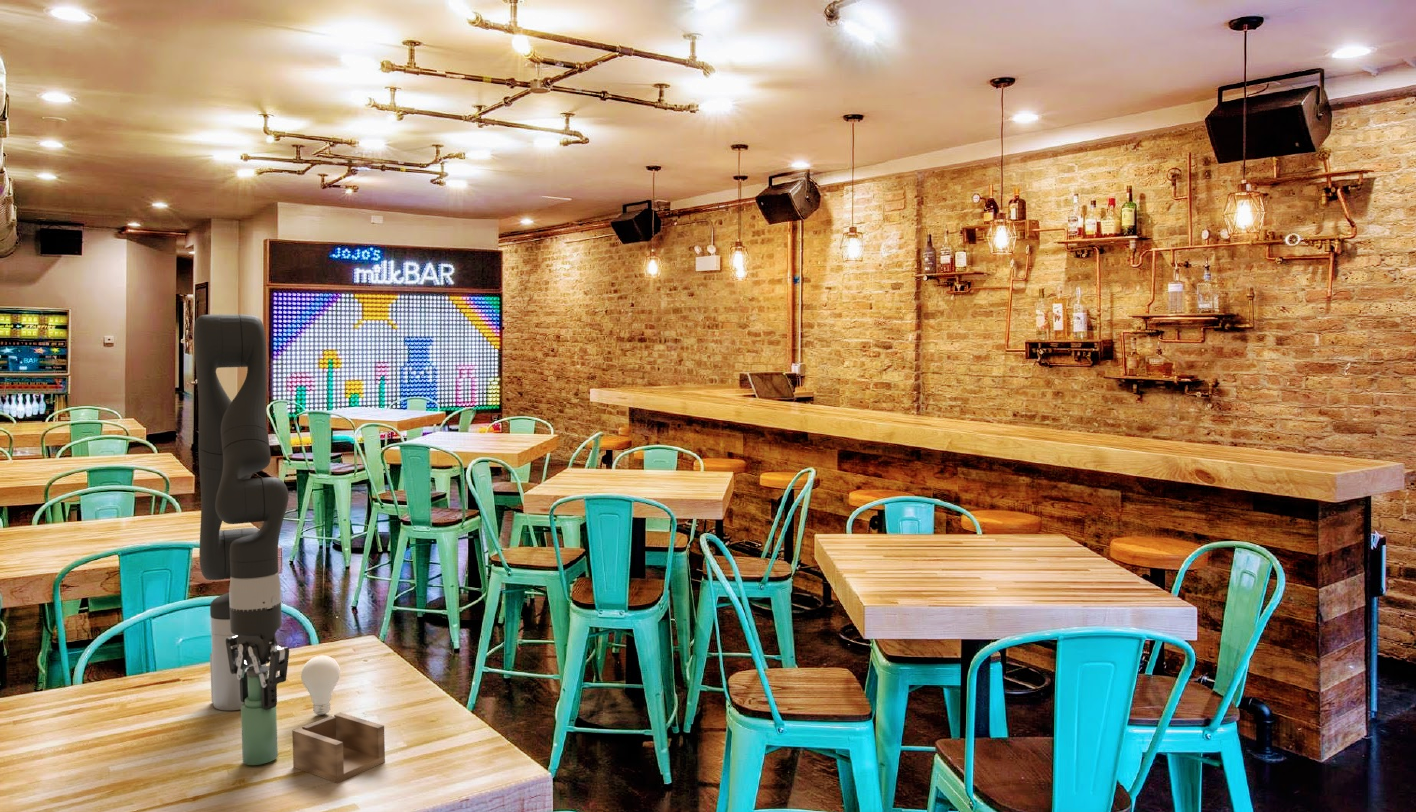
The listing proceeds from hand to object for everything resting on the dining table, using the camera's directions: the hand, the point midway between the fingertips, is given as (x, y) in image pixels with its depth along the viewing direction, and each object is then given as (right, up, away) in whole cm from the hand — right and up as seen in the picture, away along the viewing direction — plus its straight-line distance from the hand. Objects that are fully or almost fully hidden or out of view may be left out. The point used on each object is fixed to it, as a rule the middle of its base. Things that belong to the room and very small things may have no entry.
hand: (258, 704), depth 155 cm
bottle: (0, -9, +1) cm, 9 cm away
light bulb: (+2, -9, +20) cm, 22 cm away
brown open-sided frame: (+13, -9, -1) cm, 17 cm away
